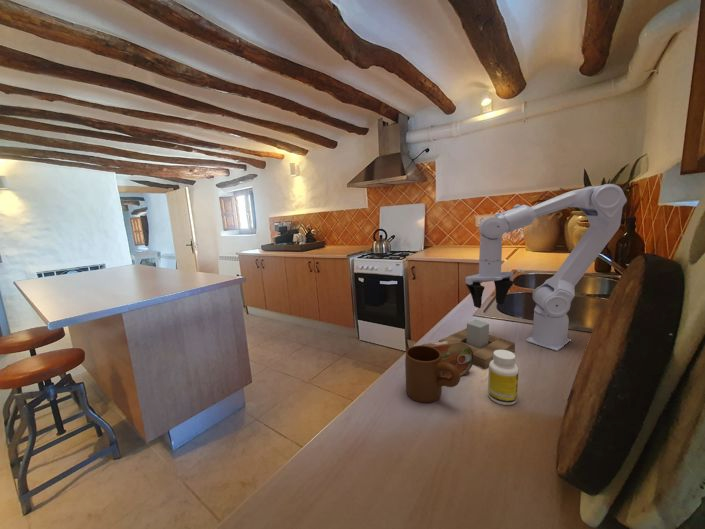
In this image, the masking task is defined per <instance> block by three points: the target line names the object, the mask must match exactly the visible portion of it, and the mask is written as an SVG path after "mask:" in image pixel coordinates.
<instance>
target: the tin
mask: <svg viewBox="0 0 705 529" xmlns="http://www.w3.org/2000/svg"><path fill="white" fill-rule="evenodd" d="M422 345H424V346H430V347H433V348H435V349H437V350H439V352H440V353H441V359H442V363H450V364H452V365H454V366H455V367H456V368H457V369H458V370H459V373H460V377H462V376H464V375H466V374H467V373H468V372H469V371H470V370H471V368H472V367H473V365H474V364H473V361H474V354H473V351H472V349H471V348H470V347H469V346H468V345H466V344H464V343H463V342H461V341H458V340H449V341H442V342H439V341H435V342H430V343H428V342H427V343H424V344H422ZM442 377H446V378H449V379H450V378H451V377H452V374H451V373H450V372H449V371H442Z"/></svg>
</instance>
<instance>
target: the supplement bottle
mask: <svg viewBox="0 0 705 529" xmlns="http://www.w3.org/2000/svg"><path fill="white" fill-rule="evenodd" d="M519 371H520V369H519V367H518V366H517V364H516V355H515V352H513V353H512V352H510V351H507V350H495V351H494V352H493V360H492V361H491V362H490V363H489V367H488V376H487V378H488V380H487V395H488V397H489V398H490V399H491V400H492V401H493V402H495V403H497V404H500V405H503V406H507V405H508V406H510V405H514V404H515V403H517V400H518V388H519V387H518V384H519Z"/></svg>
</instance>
